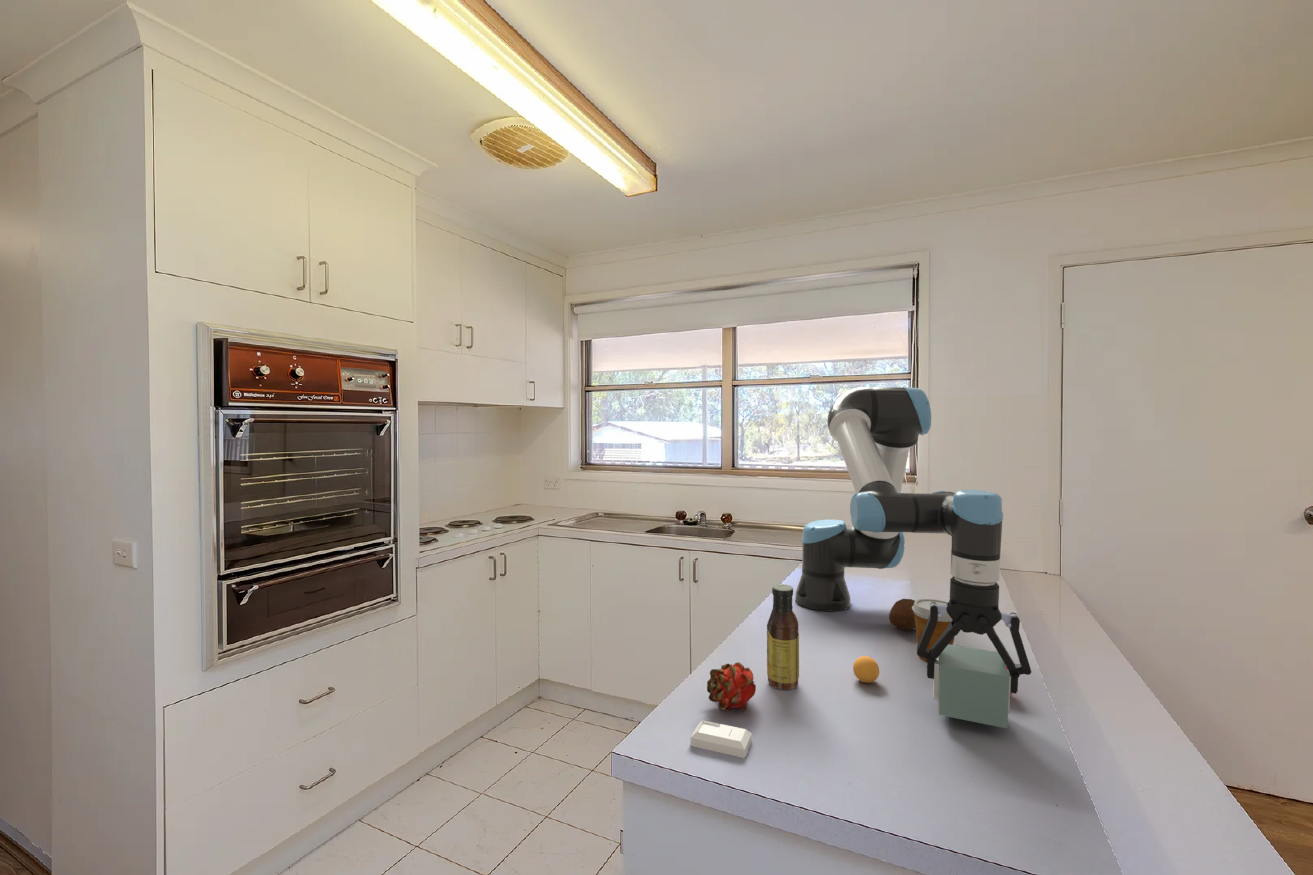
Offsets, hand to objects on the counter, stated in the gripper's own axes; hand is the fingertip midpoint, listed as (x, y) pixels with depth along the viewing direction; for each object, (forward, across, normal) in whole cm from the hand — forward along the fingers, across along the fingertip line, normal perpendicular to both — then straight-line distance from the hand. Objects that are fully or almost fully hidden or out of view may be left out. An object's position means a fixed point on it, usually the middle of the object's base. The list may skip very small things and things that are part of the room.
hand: (969, 702), depth 102 cm
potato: (+4, -11, +40) cm, 42 cm away
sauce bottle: (+3, -33, -1) cm, 33 cm away
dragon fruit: (+3, -40, -12) cm, 42 cm away
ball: (+1, -18, +8) cm, 19 cm away
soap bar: (+4, -38, -26) cm, 46 cm away
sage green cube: (+1, 0, 0) cm, 1 cm away
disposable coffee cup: (+4, -5, +26) cm, 26 cm away
